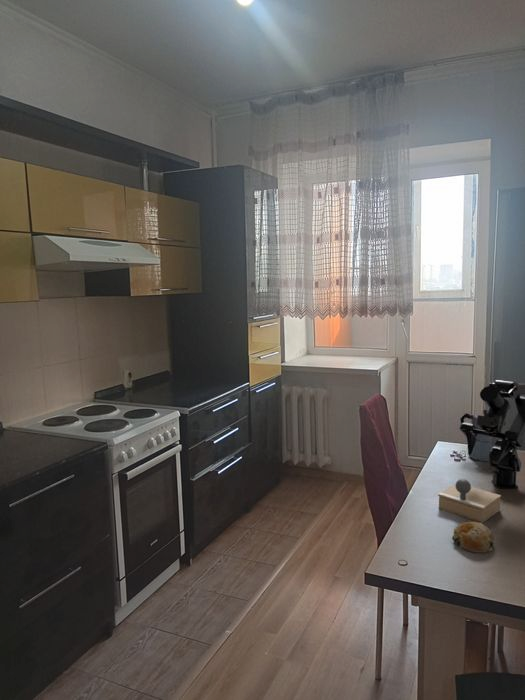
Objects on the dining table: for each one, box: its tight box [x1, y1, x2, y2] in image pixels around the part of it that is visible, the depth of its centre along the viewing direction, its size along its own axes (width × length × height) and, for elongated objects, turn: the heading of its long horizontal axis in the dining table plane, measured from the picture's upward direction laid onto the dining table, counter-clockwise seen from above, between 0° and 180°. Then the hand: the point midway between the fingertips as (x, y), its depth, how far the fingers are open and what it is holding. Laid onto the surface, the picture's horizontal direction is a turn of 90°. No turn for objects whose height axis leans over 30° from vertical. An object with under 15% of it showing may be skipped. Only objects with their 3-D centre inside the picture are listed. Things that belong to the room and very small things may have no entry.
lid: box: [437, 478, 502, 510], centre depth 161 cm, size 13×14×7 cm
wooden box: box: [438, 496, 501, 524], centre depth 162 cm, size 12×14×4 cm
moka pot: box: [460, 409, 494, 462], centre depth 206 cm, size 10×15×20 cm, turn 78°
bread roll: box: [451, 521, 495, 554], centre depth 141 cm, size 10×10×8 cm
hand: (483, 458), depth 166 cm, fingers open, 9 cm apart
